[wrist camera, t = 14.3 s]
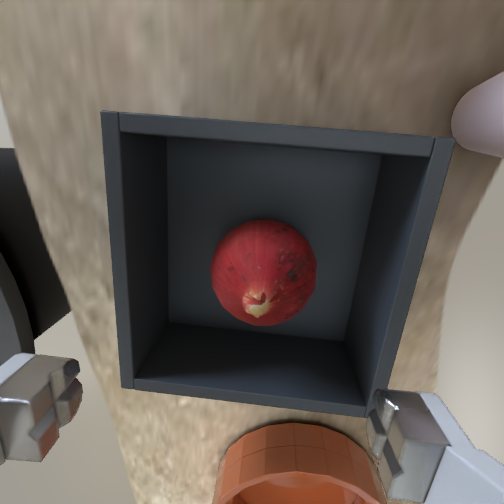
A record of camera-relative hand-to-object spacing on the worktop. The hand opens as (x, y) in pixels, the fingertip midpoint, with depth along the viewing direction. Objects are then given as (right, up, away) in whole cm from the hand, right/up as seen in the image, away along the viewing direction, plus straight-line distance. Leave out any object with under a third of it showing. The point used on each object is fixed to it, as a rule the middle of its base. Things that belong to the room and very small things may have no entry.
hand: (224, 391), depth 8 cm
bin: (+2, +4, +13) cm, 13 cm away
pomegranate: (+2, +4, +12) cm, 13 cm away
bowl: (+5, -17, +19) cm, 26 cm away
